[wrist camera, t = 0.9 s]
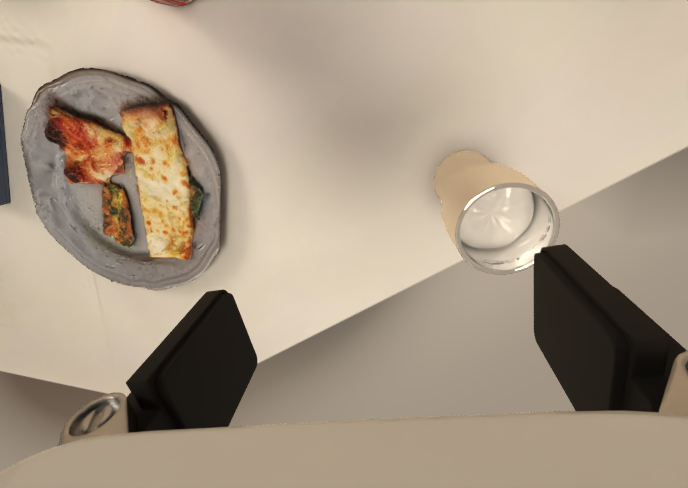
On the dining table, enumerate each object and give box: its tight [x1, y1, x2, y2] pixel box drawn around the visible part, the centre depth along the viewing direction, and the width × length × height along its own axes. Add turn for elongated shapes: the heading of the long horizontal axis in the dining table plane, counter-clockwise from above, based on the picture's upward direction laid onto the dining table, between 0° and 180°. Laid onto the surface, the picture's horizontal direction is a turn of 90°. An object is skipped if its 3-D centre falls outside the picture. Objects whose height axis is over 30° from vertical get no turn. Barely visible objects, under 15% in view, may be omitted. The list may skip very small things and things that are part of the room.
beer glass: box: [434, 150, 560, 275], centre depth 30 cm, size 7×7×15 cm
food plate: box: [21, 68, 221, 290], centre depth 40 cm, size 25×23×4 cm
